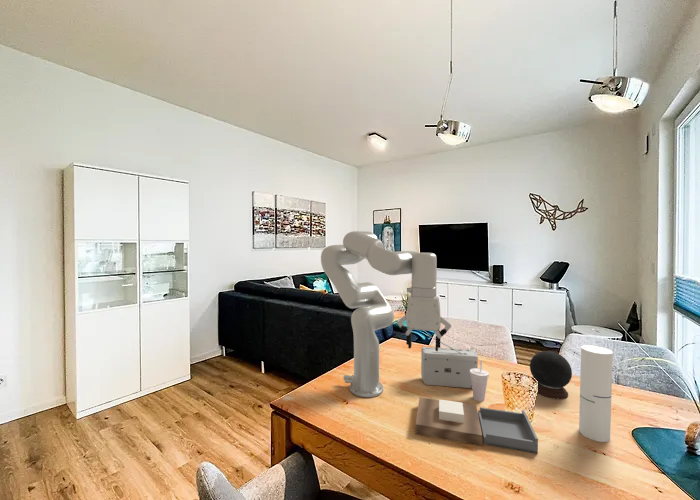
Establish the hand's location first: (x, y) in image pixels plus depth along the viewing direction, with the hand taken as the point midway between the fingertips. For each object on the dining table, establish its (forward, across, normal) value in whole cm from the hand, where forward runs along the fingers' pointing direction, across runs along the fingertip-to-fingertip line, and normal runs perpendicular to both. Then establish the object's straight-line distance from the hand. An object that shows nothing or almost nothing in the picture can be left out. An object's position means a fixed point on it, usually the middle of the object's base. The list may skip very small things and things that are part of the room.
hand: (423, 348), depth 96 cm
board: (+23, +8, 0) cm, 24 cm away
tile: (+20, +8, 0) cm, 22 cm away
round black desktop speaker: (+23, +45, +32) cm, 59 cm away
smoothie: (+23, +18, +19) cm, 35 cm away
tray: (+23, +24, 0) cm, 33 cm away
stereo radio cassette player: (+23, +9, +28) cm, 37 cm away
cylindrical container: (+23, +48, +7) cm, 54 cm away
